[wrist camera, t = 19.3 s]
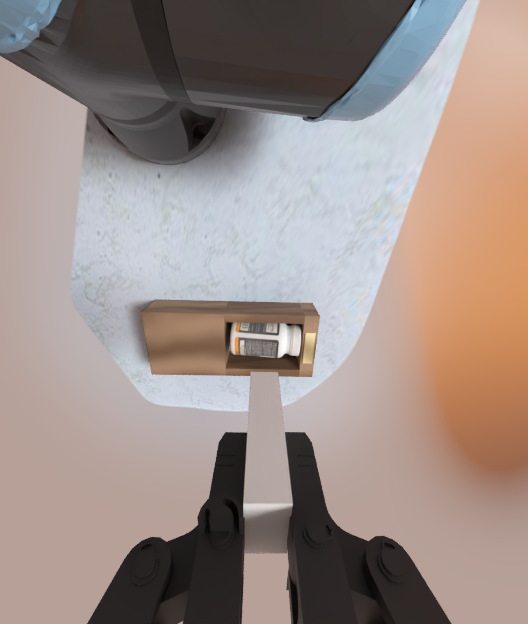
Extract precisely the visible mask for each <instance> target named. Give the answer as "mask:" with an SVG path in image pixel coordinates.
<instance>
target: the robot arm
mask: <svg viewBox="0 0 528 624" xmlns="http://www.w3.org/2000/svg"><path fill="white" fill-rule="evenodd" d="M465 2H466V0H0V56H2V57H3V58H5V59H7V60H9V61H10V62H12V63H14V64H15V65H17V66H19V67H21V68H22V69H24V70H25V71H27V72H29V73H31V74H32V75H34V76H36V77H37V78H39V79H41V80H42V81H44V82H46V83H48V84H49V85H51V86H53V87H54V88H56V89H58V90H59V91H61V92H63V93H64V94H66V95H68V96H70V97H71V98H73V99H75V100H76V101H78V102H80V103H81V104H83V105H85V106H87V107H88V108H90V110H91V111H92V112H93V113H94V115H95V117H96V118H97V120H98V121H99V122H100V124H101V125H102V126H103V128H104V129H105V130H106V131H107V132H108V134H109V135H110V136H111V137H112V138H113V139H115V140H116V141H117V142H118V143H119V144H120V145H122V146H123V147H124V148H126V149H127V150H129V151H130V152H132V153H134V154H136V155H138V156H140V157H142V158H144V159H146V160H149V161H152V162H155V163H159V164H180V163H184V162H187V161H190V160H192V159H194V158H196V157H197V156H199V155H200V154H201V153H203V152H204V151H205V150H206V149H207V148H208V147H209V146H210V145H211V143H212V142H213V141H214V139H215V137H216V136H217V134H218V132H219V130H220V128H221V125H222V122H223V119H224V115H225V111H226V108H230V109H239V110H248V111H256V112H265V113H273V114H282V115H290V116H299V117H302V118H303V120H305V121H308V122H317V121H322V120H325V119H328V120H343V121H358V120H362V119H365V118H366V117H368V116H372V115H374V114H375V113H377V112H379V111H381V110H382V109H384V108H385V107H386V106H387V105H389V104H390V103H391V102H392V101H393V100H394V99H395V98H396V97H397V96H398V95H399V94H400V93H401V92H402V91H403V90H404V89H405V88H406V87H407V86H408V85H409V84H410V82H411V81H412V80H413V79H414V78H415V76H416V75H417V74H418V73H419V71H420V70H421V69H422V67H423V66H424V65H425V63H426V62H427V61H428V59H429V58H430V57H431V55H432V54H433V52H434V51H435V49H436V48H437V46H438V45H439V43H440V42H441V40H442V39H443V38H444V36H445V35H446V33H447V32H448V30H449V28H450V27H451V25H452V23H453V22H454V20H455V18H456V17H457V15H458V13H459V12H460V10H461V8H462V7H463V5H464V4H465ZM287 549H288V560H289V571H288V578H287V590H289V598H290V611H291V624H451V622H450V621H449V619H448V618H447V616H446V614H445V613H444V611H443V609H442V608H441V606H440V605H439V603H438V602H437V600H436V598H435V597H434V595H433V593H432V592H431V590H430V589H429V587H428V586H427V584H426V582H425V580H424V579H423V577H422V576H421V574H420V572H419V571H418V569H417V567H416V566H415V564H414V562H413V561H412V559H411V558H410V556H409V555H408V554H407V552H406V551H405V550H404V549H403V547H402V546H400V545H399V544H398V543H397V542H395V541H394V540H393V539H390V538H388V537H385V536H376V537H374V538H373V539H371V540H370V541H367V540H364V539H362V538H359V537H356V536H354V535H351V534H349V533H347V532H345V531H344V530H342V529H341V528H340V527H338V526H337V524H336V523H335V522H334V521H333V520H332V518H331V517H330V515H329V513H328V510H327V507H326V504H325V499H324V495H323V490H322V486H321V481H320V477H319V472H318V468H317V463H316V459H315V456H314V450H313V446H312V442H311V441H310V439H309V438H308V436H307V435H306V434H305V433H303V432H302V433H300V432H298V433H297V432H285V431H284V421H283V412H282V403H281V394H280V385H279V376H278V372H251V377H250V395H249V412H248V431H247V433H233V432H229V433H228V432H226V433H225V434H224V436H223V437H222V439H221V440H220V442H219V445H218V450H217V457H216V462H215V468H214V473H213V479H212V484H211V490H210V496H209V499H208V500H207V501H206V502H205V504H204V505H203V506H202V508H201V510H200V512H199V515H198V526H197V527H195V528H194V529H193V530H192V531H191V532H189V533H187V534H185V535H183V536H180V537H178V538H176V539H173V540H170V541H168V542H166V541H164V540H163V539H161V538H158V537H150V538H148V539H145V540H143V541H141V542H140V543H139V544H137V545H136V546H135V547H134V548H132V550H131V551H130V553H129V554H128V555H127V556H126V558H125V559H124V561H123V563H122V565H121V566H120V568H119V570H118V571H117V573H116V575H115V576H114V578H113V580H112V582H111V583H110V585H109V587H108V589H107V591H106V592H105V594H104V596H103V597H102V599H101V601H100V603H99V604H98V606H97V608H96V609H95V611H94V613H93V615H92V616H91V618H90V620H89V622H88V623H87V624H178V623H180V622H182V621H183V624H242V602H243V601H242V600H243V569H244V553H287Z"/></svg>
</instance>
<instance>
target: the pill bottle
mask: <svg viewBox="0 0 528 624" xmlns="http://www.w3.org/2000/svg"><path fill="white" fill-rule="evenodd" d="M300 345H301V326H300V324H291V325H286V323H242V322H233V323H232V328H231V335H230V349H231V352H232V353H233V354H235V355H247V356H259V357H272V358H280V357H282V356H283V355H284V354H286V353H287V354H289V355H291V356H298V355H299V352H300Z"/></svg>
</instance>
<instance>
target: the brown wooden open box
mask: <svg viewBox="0 0 528 624" xmlns="http://www.w3.org/2000/svg"><path fill="white" fill-rule="evenodd" d="M141 315H142V321H143V327H144V333H145V339H146V344H147V350H148V356H149V362H150V367H151V373H152V374H163V375H228V376H251V372H278V376H292V377H312V373H313V365H314V357H315V350H316V342H317V334H318V326H319V318H320V316H319V314H318V312H317V310H316V309H315V307H314V305H313V303H276V302H233V301H190V300H155V301H154V302H152V303H151V304H150V305H149V306H148V307H146V308H145V309H144V310H143V311H142V312H141ZM229 322H242V323H289V324H300V326H301V345H300V352H299V355H298V356H291V355H289V354H287V353H286V354H284V355H283V356H282V357H280V358H272V357H259V356H247V355H235V354H233V353H232V352H231V351H229Z"/></svg>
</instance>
